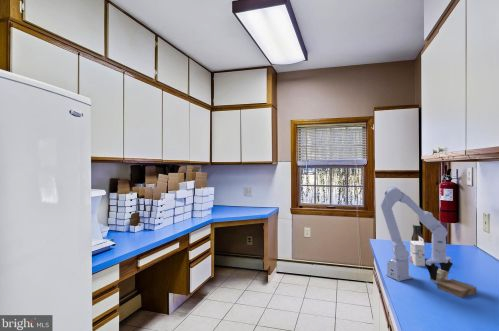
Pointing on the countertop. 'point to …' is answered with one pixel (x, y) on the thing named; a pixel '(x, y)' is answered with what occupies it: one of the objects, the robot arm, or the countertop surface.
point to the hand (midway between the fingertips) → (438, 278)
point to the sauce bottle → (416, 232)
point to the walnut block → (456, 288)
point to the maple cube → (441, 276)
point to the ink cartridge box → (417, 252)
